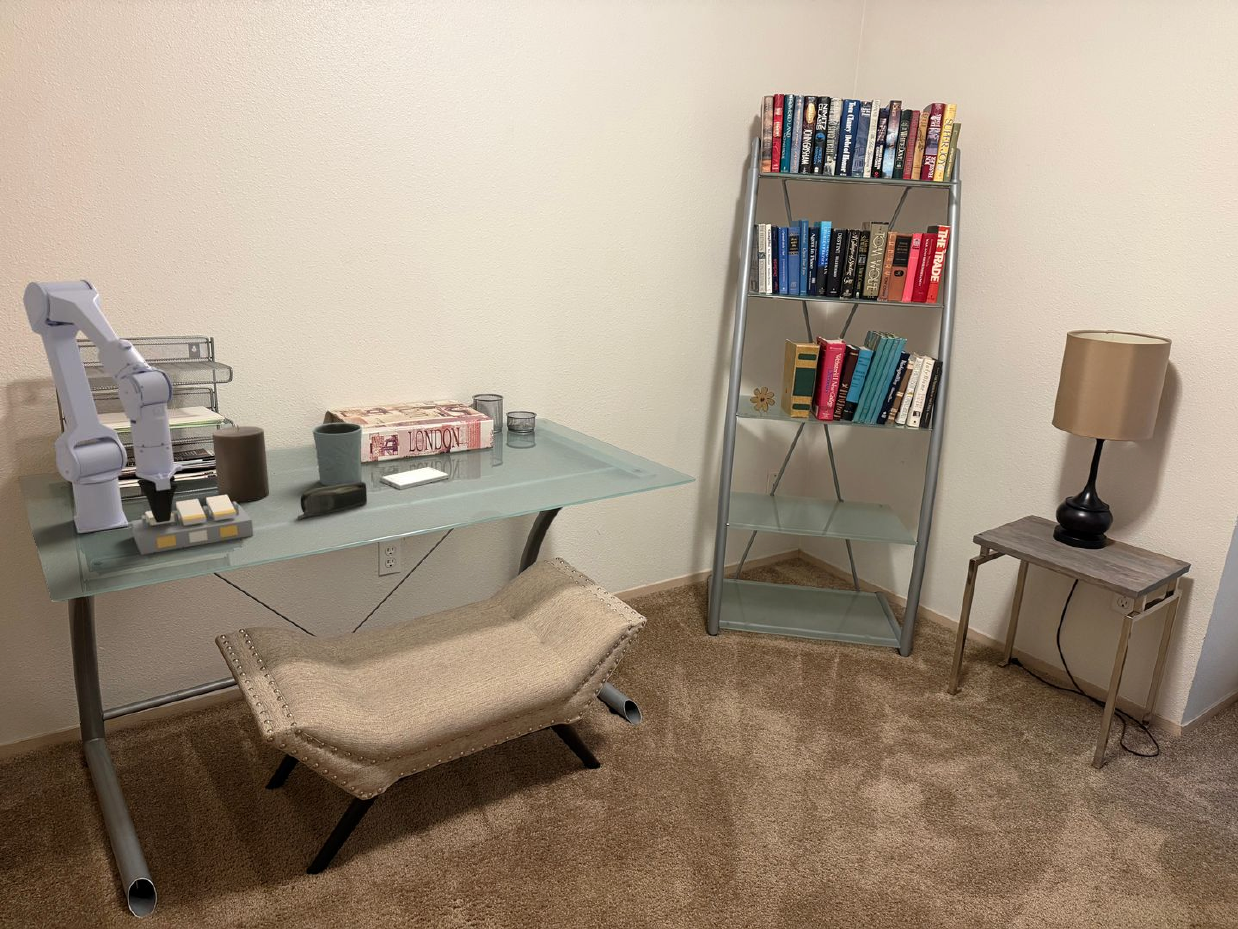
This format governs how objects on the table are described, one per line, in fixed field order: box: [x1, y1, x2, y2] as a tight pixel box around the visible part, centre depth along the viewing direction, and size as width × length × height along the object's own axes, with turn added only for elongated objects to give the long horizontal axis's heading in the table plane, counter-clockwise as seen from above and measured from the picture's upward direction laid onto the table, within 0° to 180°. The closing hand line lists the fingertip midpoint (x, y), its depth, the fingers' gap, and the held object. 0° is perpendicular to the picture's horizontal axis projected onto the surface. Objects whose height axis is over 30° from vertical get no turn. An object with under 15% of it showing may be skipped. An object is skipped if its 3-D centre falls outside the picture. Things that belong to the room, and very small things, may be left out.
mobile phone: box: [297, 481, 368, 520], centre depth 170 cm, size 5×3×15 cm
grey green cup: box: [312, 422, 363, 487], centre depth 188 cm, size 10×10×12 cm
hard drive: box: [379, 466, 449, 490], centre depth 192 cm, size 2×8×12 cm
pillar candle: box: [211, 424, 270, 503], centre depth 176 cm, size 10×10×15 cm
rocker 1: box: [144, 510, 175, 525], centre depth 151 cm, size 7×4×1 cm, turn 35°
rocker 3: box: [205, 495, 236, 521], centre depth 157 cm, size 7×4×1 cm, turn 36°
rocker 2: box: [175, 498, 206, 526], centre depth 154 cm, size 7×4×1 cm, turn 36°
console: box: [131, 501, 254, 555], centre depth 155 cm, size 10×18×5 cm, turn 125°
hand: (162, 519), depth 149 cm, fingers closed on rocker 1
